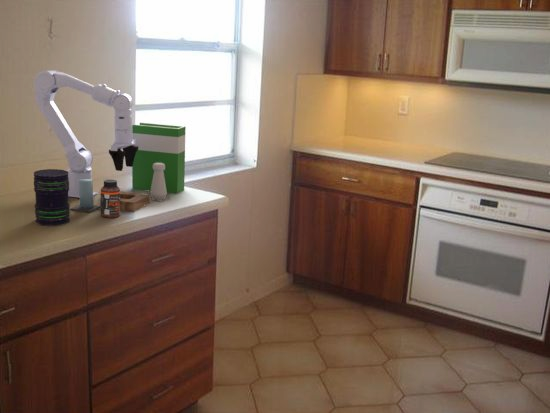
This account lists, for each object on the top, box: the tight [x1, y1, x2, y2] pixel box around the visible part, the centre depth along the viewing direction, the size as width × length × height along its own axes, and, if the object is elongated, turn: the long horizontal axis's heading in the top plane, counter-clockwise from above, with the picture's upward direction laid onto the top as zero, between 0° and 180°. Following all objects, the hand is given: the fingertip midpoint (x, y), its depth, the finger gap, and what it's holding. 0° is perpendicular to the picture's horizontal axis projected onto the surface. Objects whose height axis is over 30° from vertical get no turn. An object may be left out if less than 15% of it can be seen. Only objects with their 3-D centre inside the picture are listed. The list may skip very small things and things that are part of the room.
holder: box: [99, 190, 151, 213], centre depth 207 cm, size 12×12×3 cm
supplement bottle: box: [100, 179, 121, 219], centre depth 193 cm, size 6×6×11 cm
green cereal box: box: [131, 122, 186, 195], centre depth 228 cm, size 18×7×24 cm, turn 78°
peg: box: [79, 178, 94, 209], centre depth 198 cm, size 4×4×9 cm
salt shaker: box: [149, 163, 168, 202], centre depth 215 cm, size 6×6×13 cm
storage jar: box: [33, 168, 71, 227], centre depth 183 cm, size 10×10×15 cm
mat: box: [70, 204, 101, 214], centre depth 200 cm, size 7×7×1 cm
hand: (124, 168), depth 214 cm, fingers open, 7 cm apart
